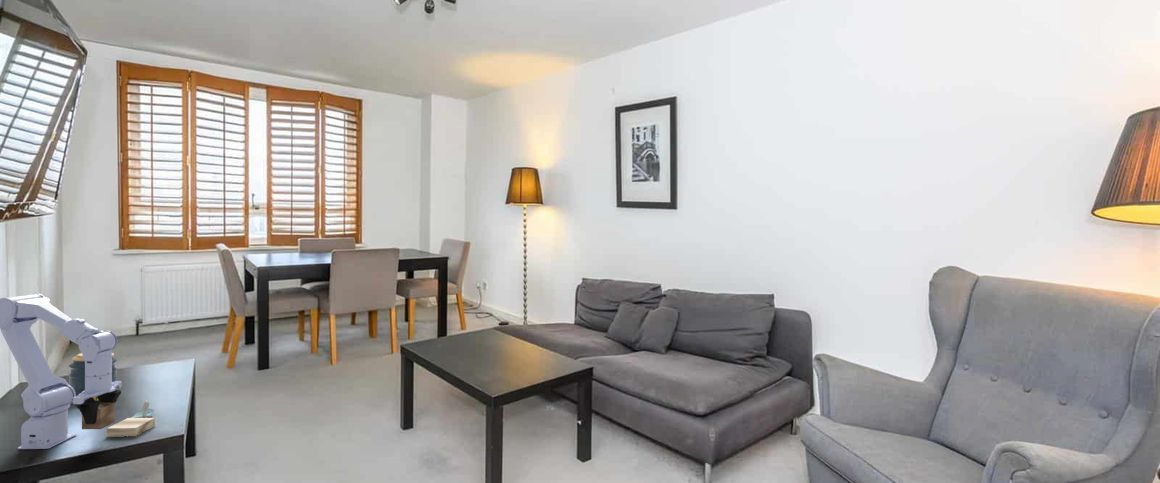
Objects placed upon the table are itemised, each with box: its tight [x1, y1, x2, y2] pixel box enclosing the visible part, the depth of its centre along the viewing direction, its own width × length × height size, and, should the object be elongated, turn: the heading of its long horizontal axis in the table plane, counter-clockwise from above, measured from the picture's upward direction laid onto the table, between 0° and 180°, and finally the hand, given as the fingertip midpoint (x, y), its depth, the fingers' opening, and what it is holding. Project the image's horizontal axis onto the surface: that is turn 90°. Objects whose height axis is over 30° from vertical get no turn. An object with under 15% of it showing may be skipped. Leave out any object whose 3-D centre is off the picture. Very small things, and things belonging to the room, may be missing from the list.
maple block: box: [106, 417, 156, 438], centre depth 159 cm, size 8×8×3 cm
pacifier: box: [130, 399, 154, 418], centre depth 168 cm, size 7×6×6 cm
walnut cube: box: [81, 402, 116, 430], centre depth 149 cm, size 5×5×6 cm
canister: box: [68, 352, 118, 396], centre depth 188 cm, size 13×13×18 cm
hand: (98, 419), depth 149 cm, fingers closed on walnut cube, 5 cm apart
